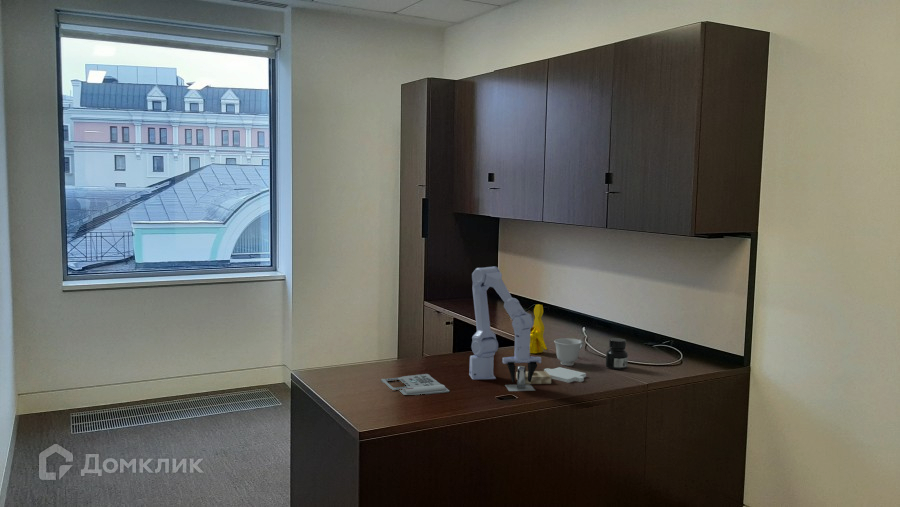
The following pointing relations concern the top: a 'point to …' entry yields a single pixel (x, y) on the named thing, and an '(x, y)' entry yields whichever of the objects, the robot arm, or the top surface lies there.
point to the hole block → (538, 378)
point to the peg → (521, 377)
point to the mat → (514, 388)
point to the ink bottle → (617, 354)
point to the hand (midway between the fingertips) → (521, 381)
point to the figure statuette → (537, 332)
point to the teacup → (568, 350)
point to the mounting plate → (565, 374)
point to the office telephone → (417, 385)
